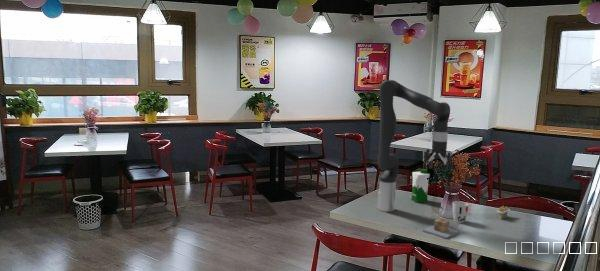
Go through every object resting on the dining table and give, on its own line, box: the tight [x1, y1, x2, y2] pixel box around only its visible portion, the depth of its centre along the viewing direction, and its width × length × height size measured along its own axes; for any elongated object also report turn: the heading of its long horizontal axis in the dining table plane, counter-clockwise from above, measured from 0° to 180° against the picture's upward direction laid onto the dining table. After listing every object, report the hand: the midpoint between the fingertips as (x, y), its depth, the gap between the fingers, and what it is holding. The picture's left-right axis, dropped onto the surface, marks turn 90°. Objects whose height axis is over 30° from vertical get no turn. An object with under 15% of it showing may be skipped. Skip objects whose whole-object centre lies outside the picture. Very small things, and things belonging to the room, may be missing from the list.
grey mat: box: [422, 224, 461, 240], centre depth 219 cm, size 13×13×1 cm
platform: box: [496, 205, 511, 220], centre depth 242 cm, size 12×18×7 cm, turn 133°
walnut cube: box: [433, 218, 450, 233], centre depth 219 cm, size 5×5×5 cm
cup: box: [452, 201, 470, 224], centre depth 235 cm, size 8×8×10 cm
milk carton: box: [411, 168, 431, 204], centre depth 270 cm, size 9×9×20 cm
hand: (438, 169), depth 233 cm, fingers open, 8 cm apart
